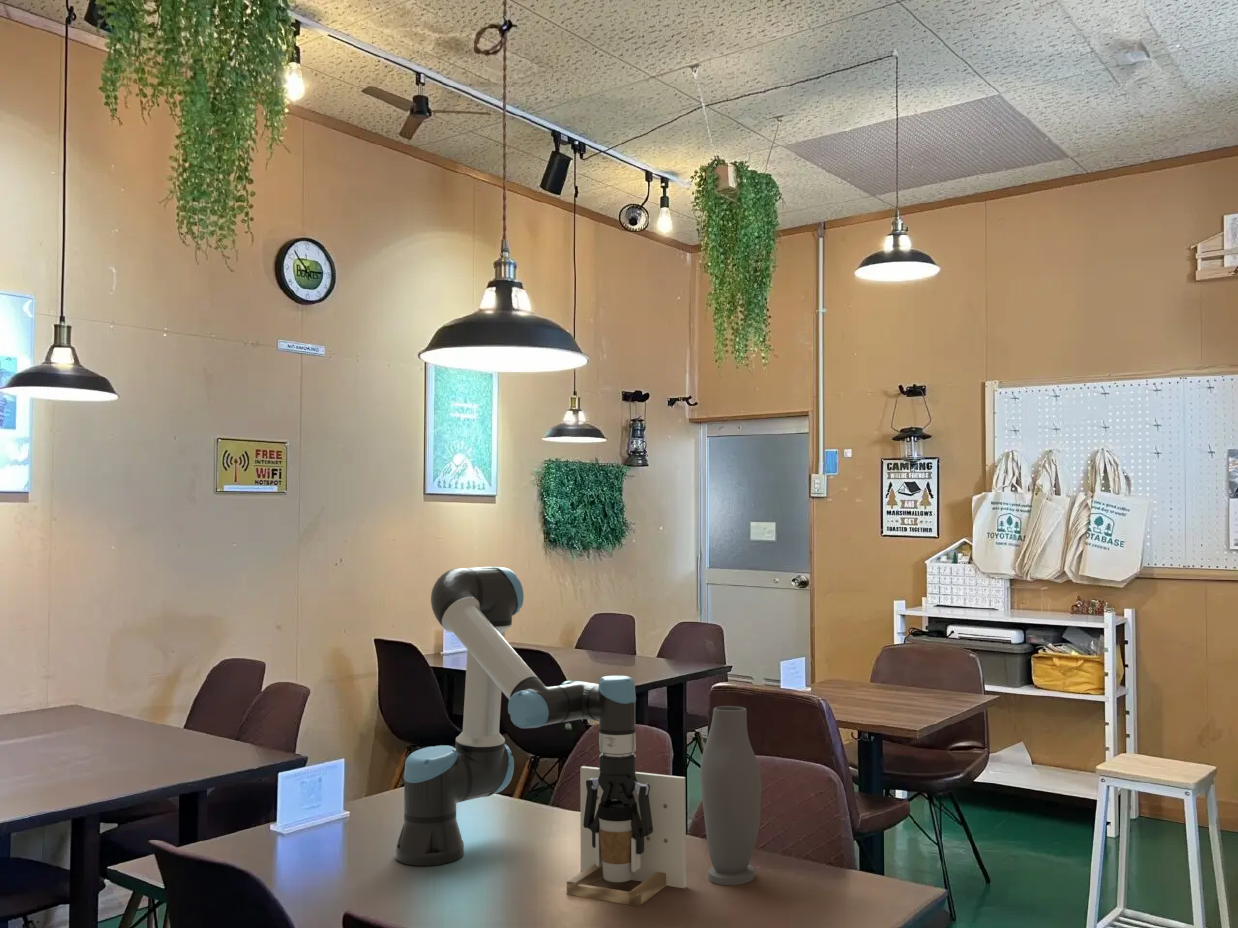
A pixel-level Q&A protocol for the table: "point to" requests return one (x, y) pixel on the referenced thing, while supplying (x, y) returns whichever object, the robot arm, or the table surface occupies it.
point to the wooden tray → (635, 897)
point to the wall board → (668, 827)
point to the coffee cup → (616, 840)
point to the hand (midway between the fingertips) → (617, 866)
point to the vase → (730, 797)
